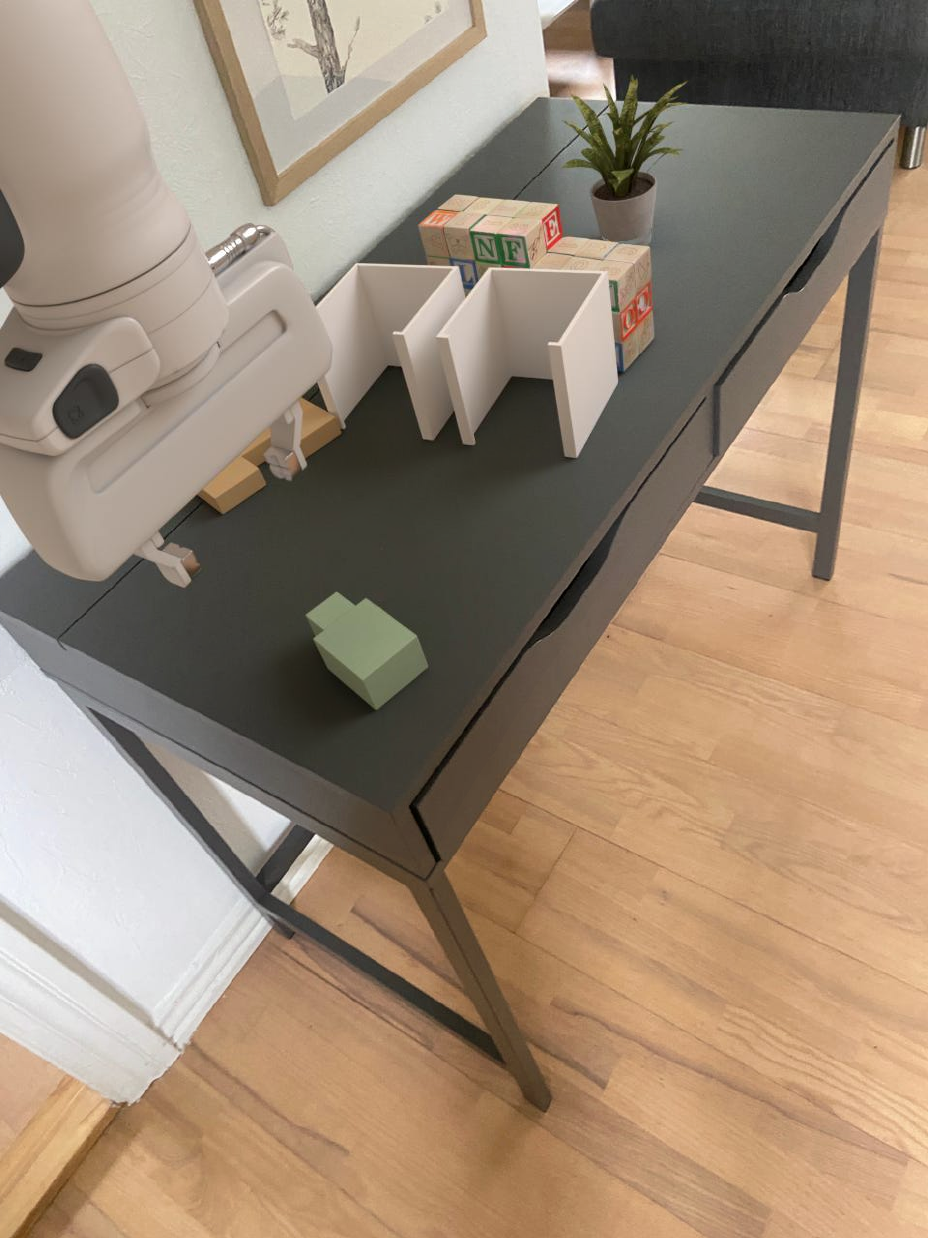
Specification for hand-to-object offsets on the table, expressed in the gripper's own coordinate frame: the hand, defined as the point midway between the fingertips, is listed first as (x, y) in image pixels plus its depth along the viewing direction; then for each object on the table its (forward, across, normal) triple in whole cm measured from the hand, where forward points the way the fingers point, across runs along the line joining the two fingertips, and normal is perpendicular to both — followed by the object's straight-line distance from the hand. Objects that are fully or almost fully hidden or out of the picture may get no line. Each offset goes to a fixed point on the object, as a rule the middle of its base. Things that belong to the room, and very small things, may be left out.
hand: (241, 522), depth 54 cm
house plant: (+18, -64, -8) cm, 66 cm away
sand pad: (+17, -20, -27) cm, 38 cm away
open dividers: (+17, -33, -9) cm, 38 cm away
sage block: (+17, -4, +1) cm, 17 cm away
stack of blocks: (+17, -45, -8) cm, 49 cm away
